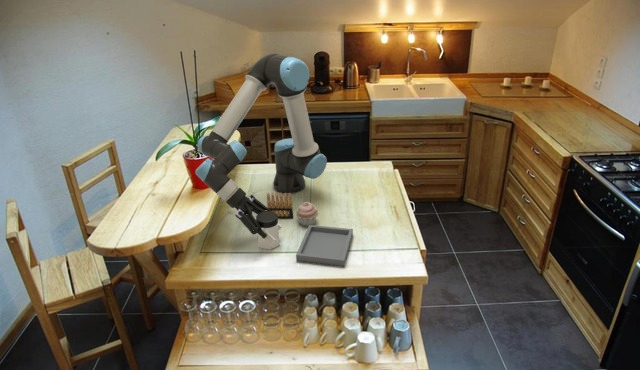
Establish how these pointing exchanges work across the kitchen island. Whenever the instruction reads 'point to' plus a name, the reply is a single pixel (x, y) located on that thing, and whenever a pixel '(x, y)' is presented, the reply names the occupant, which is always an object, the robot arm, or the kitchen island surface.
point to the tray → (325, 246)
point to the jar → (268, 228)
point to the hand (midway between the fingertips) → (276, 235)
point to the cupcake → (307, 214)
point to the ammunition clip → (281, 206)
